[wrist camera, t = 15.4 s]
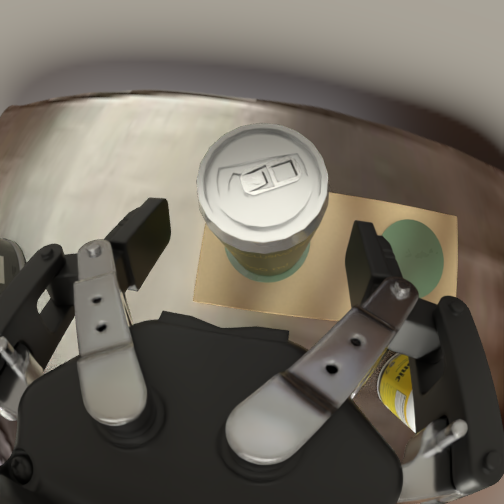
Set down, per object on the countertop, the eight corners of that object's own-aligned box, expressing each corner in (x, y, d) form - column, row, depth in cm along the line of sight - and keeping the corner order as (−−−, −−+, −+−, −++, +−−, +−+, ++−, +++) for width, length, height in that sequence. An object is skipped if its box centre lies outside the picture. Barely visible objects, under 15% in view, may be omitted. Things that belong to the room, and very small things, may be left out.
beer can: (288, 199, 23) (300, 104, 11) (314, 263, 22) (357, 220, 10) (223, 221, 23) (176, 144, 11) (246, 287, 22) (214, 270, 10)
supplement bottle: (426, 339, 21) (499, 353, 11) (432, 394, 20) (498, 429, 10) (370, 360, 21) (427, 392, 11) (378, 417, 20) (429, 470, 10)
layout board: (194, 301, 23) (192, 301, 22) (215, 181, 24) (213, 178, 24) (449, 328, 21) (453, 328, 20) (453, 218, 22) (457, 216, 22)
